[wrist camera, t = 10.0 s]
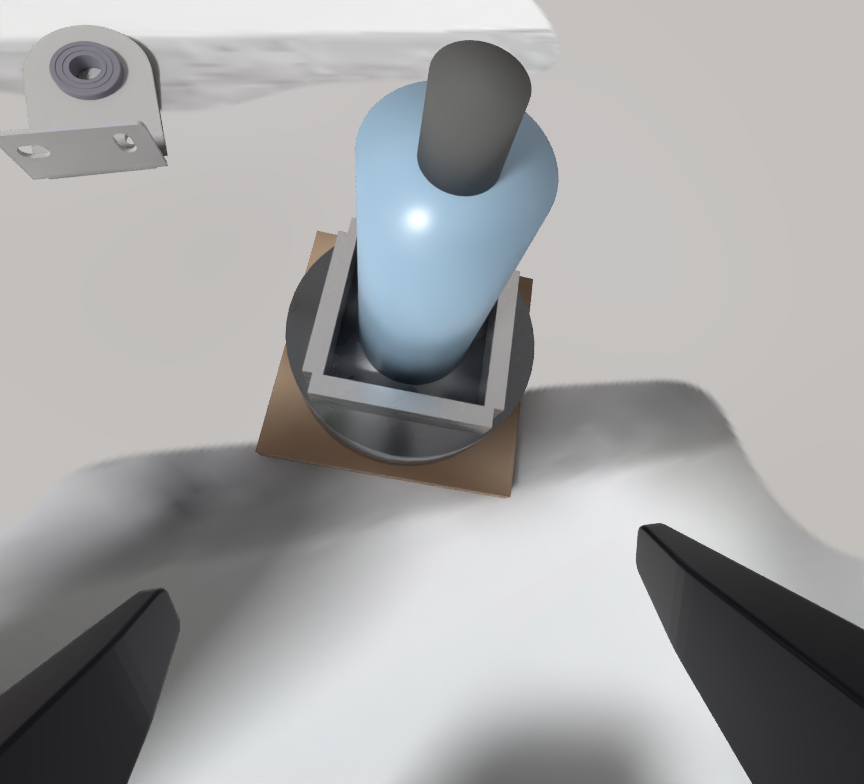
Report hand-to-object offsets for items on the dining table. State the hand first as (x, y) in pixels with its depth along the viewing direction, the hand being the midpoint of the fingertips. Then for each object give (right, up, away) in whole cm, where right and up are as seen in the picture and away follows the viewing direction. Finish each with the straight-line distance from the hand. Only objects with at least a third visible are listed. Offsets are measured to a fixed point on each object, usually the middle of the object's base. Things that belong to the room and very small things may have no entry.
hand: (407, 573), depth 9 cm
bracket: (-19, +19, +17) cm, 32 cm away
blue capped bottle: (0, +6, +11) cm, 13 cm away
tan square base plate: (-1, +5, +15) cm, 16 cm away
